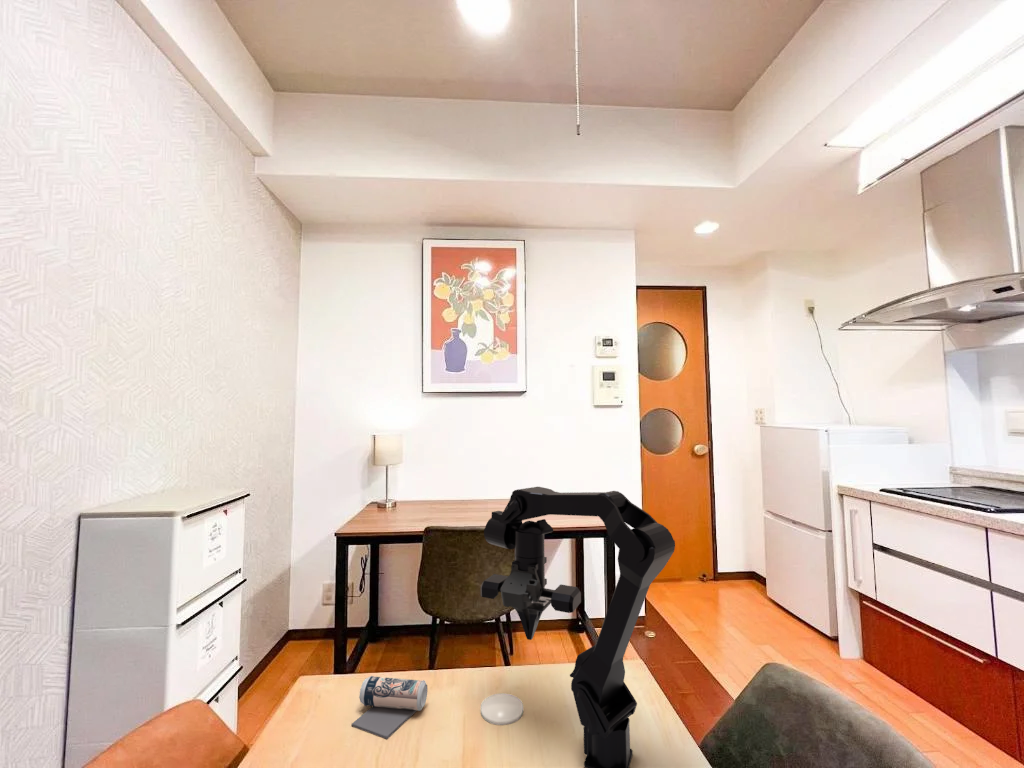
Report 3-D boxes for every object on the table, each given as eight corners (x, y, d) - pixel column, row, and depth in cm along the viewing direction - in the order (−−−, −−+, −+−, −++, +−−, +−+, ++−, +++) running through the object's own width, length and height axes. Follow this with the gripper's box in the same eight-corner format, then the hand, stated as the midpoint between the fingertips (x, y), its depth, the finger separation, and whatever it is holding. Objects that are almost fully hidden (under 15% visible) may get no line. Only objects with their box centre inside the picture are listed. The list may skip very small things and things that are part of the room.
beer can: (419, 691, 81) (358, 685, 83) (419, 717, 81) (358, 711, 83) (428, 674, 86) (369, 669, 88) (428, 699, 86) (370, 694, 88)
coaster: (529, 704, 86) (529, 699, 86) (512, 730, 78) (512, 725, 78) (492, 693, 89) (492, 689, 89) (472, 717, 82) (472, 712, 82)
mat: (422, 705, 85) (422, 703, 85) (387, 739, 76) (387, 736, 76) (389, 695, 88) (389, 693, 89) (351, 726, 79) (351, 723, 80)
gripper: (466, 559, 82) (465, 648, 81) (562, 573, 75) (563, 671, 73) (493, 544, 93) (493, 623, 91) (581, 555, 85) (582, 641, 83)
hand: (530, 638), depth 84 cm, fingers closed
